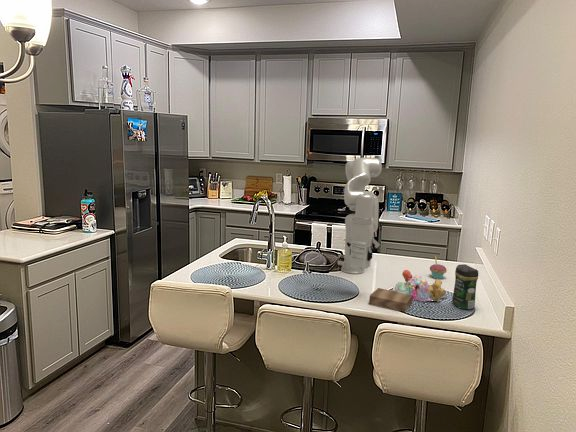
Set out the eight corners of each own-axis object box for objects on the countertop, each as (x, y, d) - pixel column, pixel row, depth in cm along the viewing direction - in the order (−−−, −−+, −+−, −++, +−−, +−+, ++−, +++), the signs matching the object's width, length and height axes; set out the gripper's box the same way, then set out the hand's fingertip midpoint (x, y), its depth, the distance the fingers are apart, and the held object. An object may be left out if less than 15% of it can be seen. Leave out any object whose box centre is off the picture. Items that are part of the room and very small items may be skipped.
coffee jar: (448, 302, 200) (452, 263, 197) (463, 301, 202) (468, 262, 199) (461, 311, 191) (466, 269, 188) (477, 309, 193) (482, 269, 190)
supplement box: (356, 263, 209) (358, 237, 206) (370, 266, 205) (372, 240, 202) (349, 266, 203) (350, 240, 200) (363, 270, 199) (365, 243, 196)
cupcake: (428, 278, 234) (430, 256, 232) (429, 273, 242) (431, 252, 239) (445, 280, 231) (447, 258, 229) (446, 276, 239) (448, 254, 236)
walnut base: (368, 304, 195) (369, 295, 194) (377, 296, 205) (378, 287, 204) (405, 312, 187) (405, 303, 187) (412, 303, 198) (412, 295, 197)
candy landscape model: (448, 291, 217) (450, 273, 215) (444, 307, 196) (446, 287, 194) (397, 282, 227) (398, 265, 225) (387, 297, 206) (389, 278, 204)
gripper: (342, 220, 200) (339, 257, 204) (379, 225, 192) (376, 264, 196) (348, 217, 207) (346, 253, 210) (384, 222, 198) (381, 259, 202)
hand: (360, 258), depth 203 cm, fingers closed on supplement box, 7 cm apart
